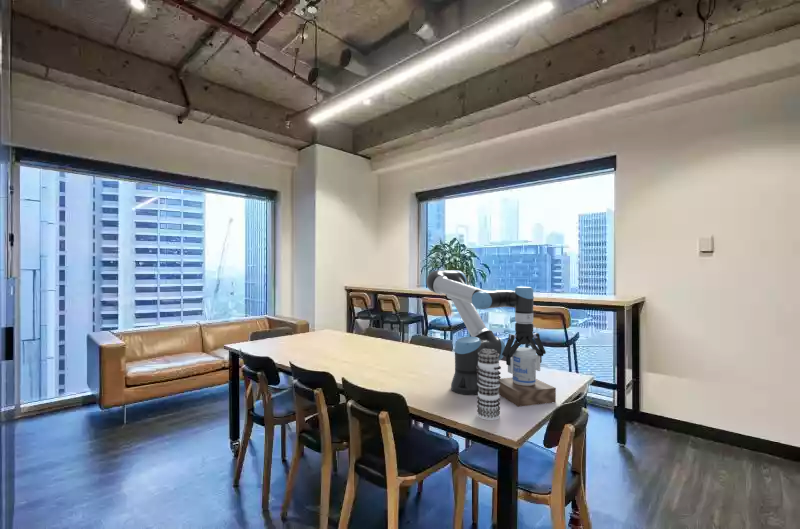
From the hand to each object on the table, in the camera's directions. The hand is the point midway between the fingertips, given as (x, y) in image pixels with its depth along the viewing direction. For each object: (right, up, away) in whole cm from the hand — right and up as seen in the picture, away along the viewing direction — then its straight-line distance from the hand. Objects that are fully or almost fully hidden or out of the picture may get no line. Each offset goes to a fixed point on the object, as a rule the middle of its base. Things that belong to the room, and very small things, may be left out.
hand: (524, 371), depth 166 cm
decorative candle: (-20, -11, -20) cm, 31 cm away
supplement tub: (0, -5, 0) cm, 5 cm away
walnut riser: (0, -11, 0) cm, 11 cm away
